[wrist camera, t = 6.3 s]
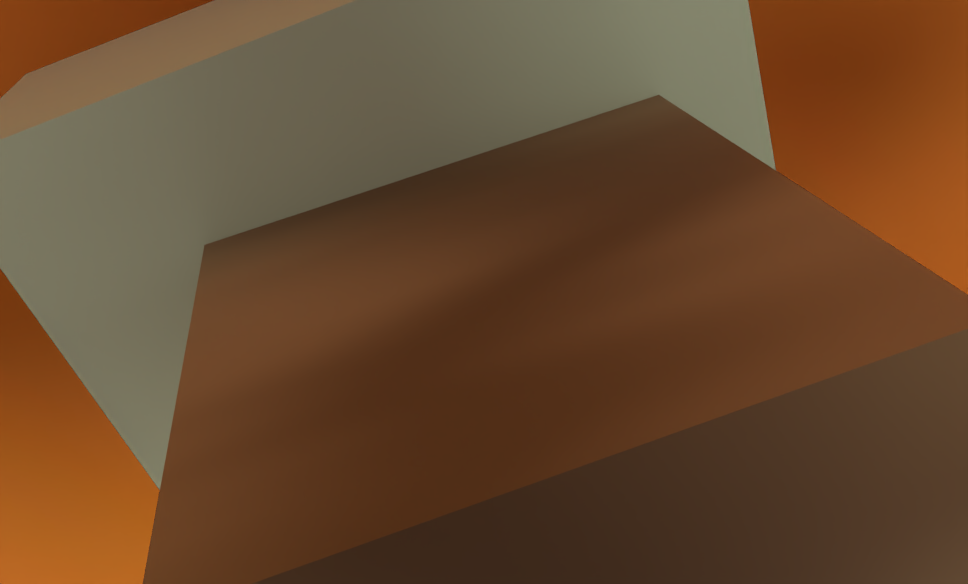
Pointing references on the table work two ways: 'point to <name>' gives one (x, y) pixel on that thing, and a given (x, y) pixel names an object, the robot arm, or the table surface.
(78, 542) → the table surface
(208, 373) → the walnut cube
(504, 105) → the sage block
